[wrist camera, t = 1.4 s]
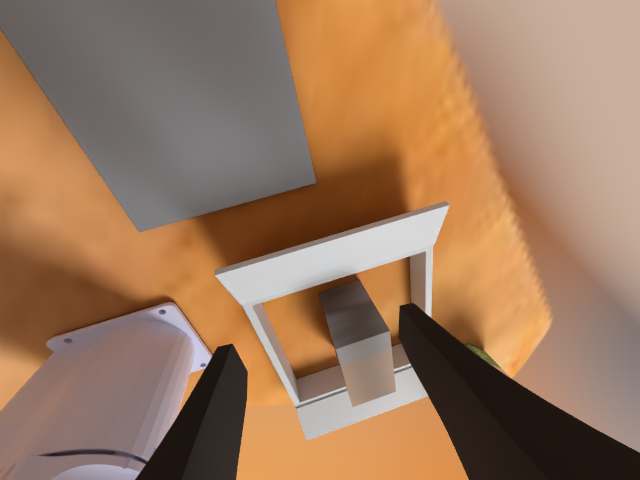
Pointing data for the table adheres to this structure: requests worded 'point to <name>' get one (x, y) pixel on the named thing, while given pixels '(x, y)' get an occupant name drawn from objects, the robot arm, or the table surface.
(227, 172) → the mat
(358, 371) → the block
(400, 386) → the grey shallow open piece
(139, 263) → the table surface
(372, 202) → the table surface
